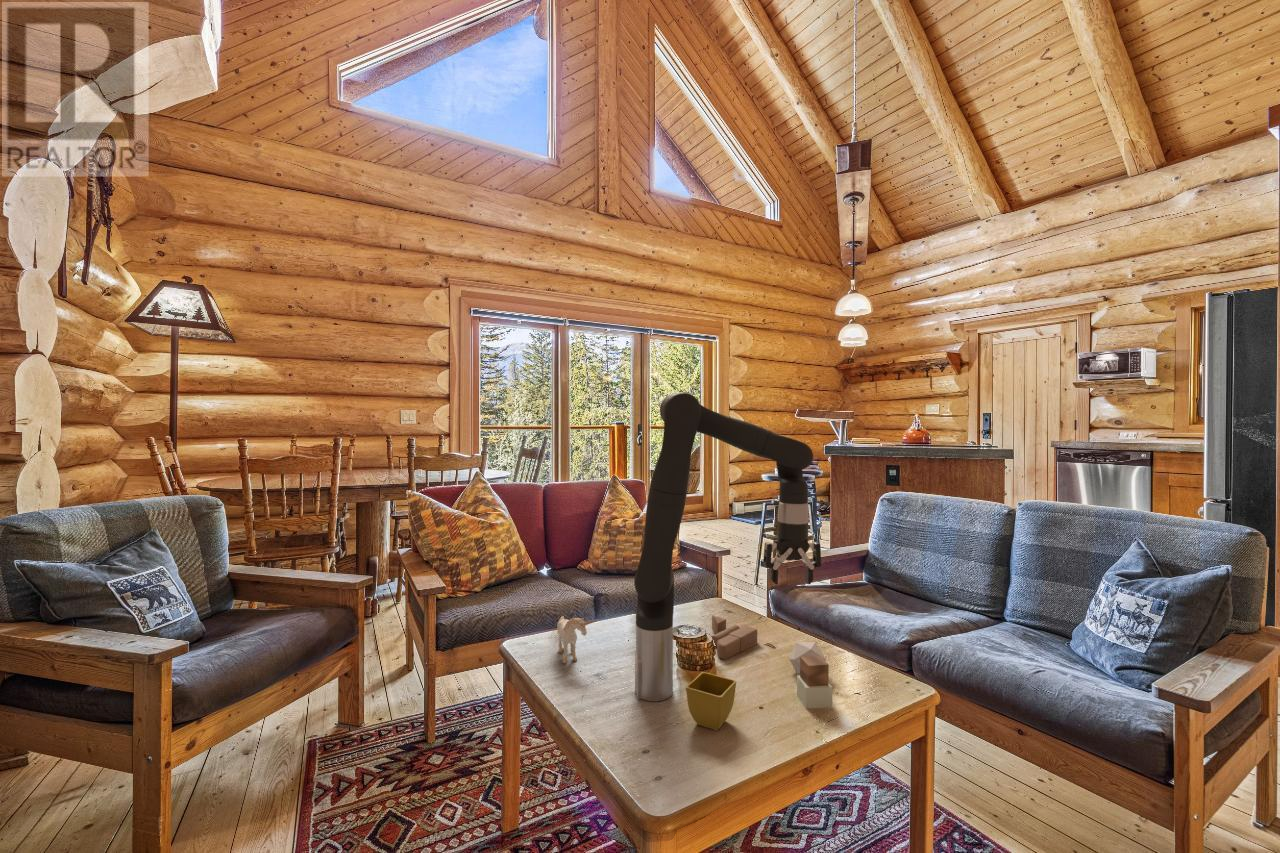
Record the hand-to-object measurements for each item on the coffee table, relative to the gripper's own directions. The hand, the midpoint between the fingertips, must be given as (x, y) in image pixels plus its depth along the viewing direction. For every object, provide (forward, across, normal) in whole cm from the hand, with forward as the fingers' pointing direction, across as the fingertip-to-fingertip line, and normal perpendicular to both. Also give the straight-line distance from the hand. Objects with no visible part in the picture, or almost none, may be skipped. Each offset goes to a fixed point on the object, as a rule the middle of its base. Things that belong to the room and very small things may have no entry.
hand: (791, 583), depth 144 cm
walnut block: (+22, +3, -7) cm, 23 cm away
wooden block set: (+27, -12, +29) cm, 41 cm away
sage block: (+27, +4, -8) cm, 28 cm away
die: (+27, +7, +7) cm, 28 cm away
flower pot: (+27, -23, -15) cm, 39 cm away
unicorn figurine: (+28, -54, +22) cm, 65 cm away
